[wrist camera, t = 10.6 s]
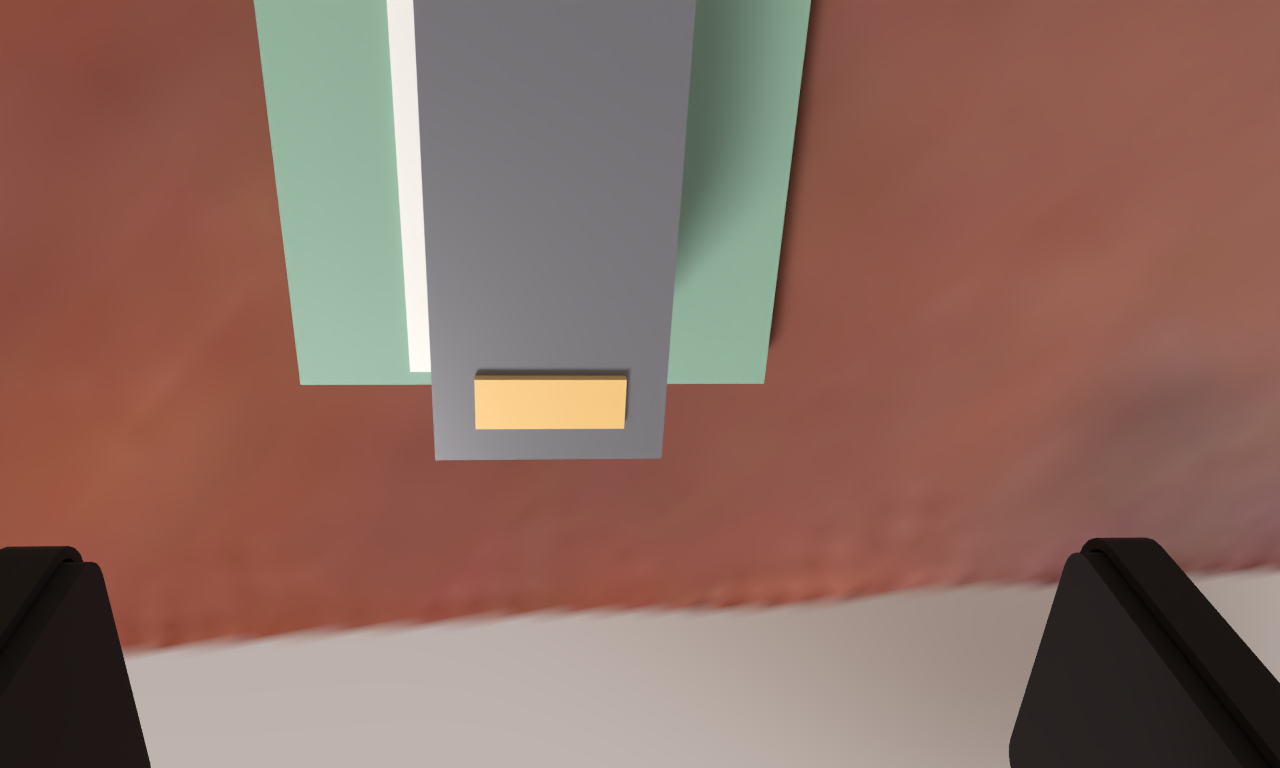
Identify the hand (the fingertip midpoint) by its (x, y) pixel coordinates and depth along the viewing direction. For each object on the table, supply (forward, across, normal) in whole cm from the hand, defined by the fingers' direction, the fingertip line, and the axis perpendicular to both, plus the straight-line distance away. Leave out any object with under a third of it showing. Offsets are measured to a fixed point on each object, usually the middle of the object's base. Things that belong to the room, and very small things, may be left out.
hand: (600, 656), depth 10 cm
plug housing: (+18, 0, 0) cm, 18 cm away
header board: (+19, +1, 0) cm, 19 cm away
